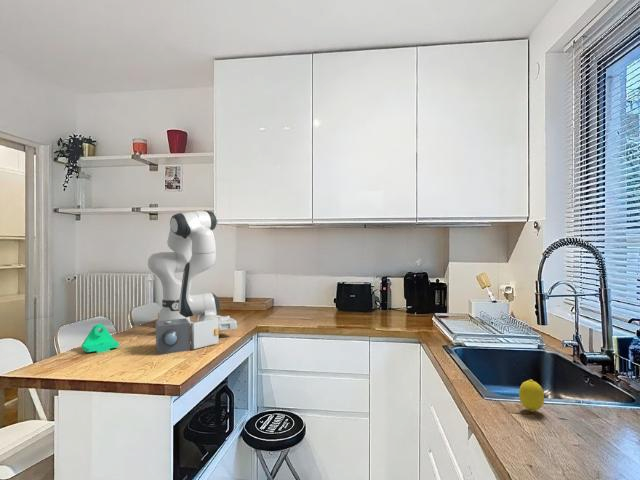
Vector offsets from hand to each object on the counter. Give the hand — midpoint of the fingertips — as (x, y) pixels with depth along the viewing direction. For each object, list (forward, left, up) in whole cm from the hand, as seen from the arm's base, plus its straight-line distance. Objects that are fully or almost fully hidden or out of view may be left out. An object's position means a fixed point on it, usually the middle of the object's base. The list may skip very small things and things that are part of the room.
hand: (217, 329), depth 173 cm
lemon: (+110, +54, -6) cm, 123 cm away
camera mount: (-10, -45, -6) cm, 47 cm away
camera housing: (+4, -19, -5) cm, 20 cm away
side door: (+6, -6, -5) cm, 10 cm away
